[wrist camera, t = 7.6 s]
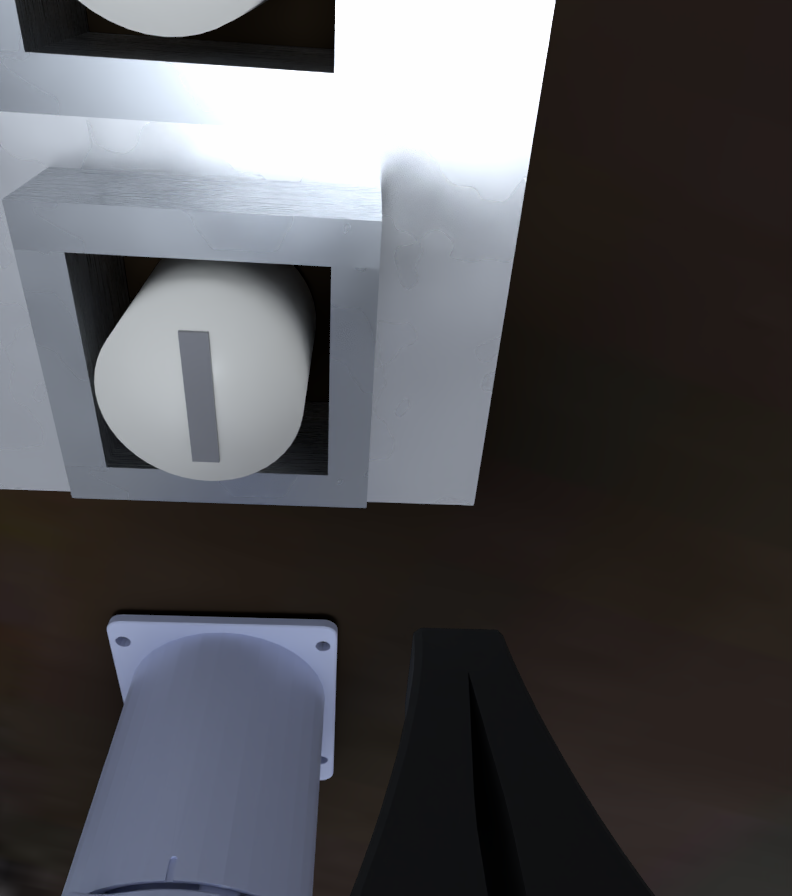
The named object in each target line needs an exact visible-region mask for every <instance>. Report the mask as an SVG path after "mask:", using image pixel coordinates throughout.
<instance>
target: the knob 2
mask: <svg viewBox="0 0 792 896" xmlns="http://www.w3.org/2000/svg"><path fill="white" fill-rule="evenodd" d="M315 331H316V310H315V305H314V300H313V298H312V295H311V292H310V289H309V288H308V286H307V284H306V282H305V280H304V278H303V277H302V275H301V274H300V273H299V271H298V270H297V269H296V268H295V267H294V265H290V264H272V263H253V262H234V261H216V260H197V259H178V258H162V259H161V260H160V262H159V263H158V264H157V265H156V267H155V268H154V270H153V271H152V273H151V274H150V276H149V277H148V279H147V280H146V282H145V283H144V285H143V286H142V288H141V289H140V291H139V292H138V294H137V295H136V297H135V298H134V300H133V301H132V303H131V304H130V306H129V307H128V309H127V310H126V312H125V313H124V315H123V316H122V318H121V319H120V321H119V322H118V324H117V325H116V326H115V328H114V329H113V331H112V332H111V334H110V335H109V337H108V338H107V340H106V342H105V343H104V345H103V347H102V348H101V351H100V353H99V356H98V359H97V362H96V367H95V377H94V385H95V394H96V398H97V402H98V405H99V408H100V410H101V413H102V415H103V417H104V419H105V421H106V422H107V424H108V426H109V427H110V429H111V430H112V432H113V433H114V434H115V435H116V437H117V438H118V439H119V440H120V441H121V442H122V443H123V444H124V445H125V446H126V447H127V448H128V449H129V450H130V451H132V452H133V453H134V454H135V455H136V456H138V457H139V458H141V459H142V460H144V461H145V462H147V463H149V464H151V465H153V466H154V467H156V468H158V469H161V470H163V471H165V472H168V473H170V474H174V475H177V476H180V477H184V478H189V479H195V480H204V481H223V480H231V479H236V478H241V477H245V476H248V475H251V474H253V473H256V472H258V471H260V470H262V469H264V468H266V467H268V466H269V465H270V464H272V463H273V462H275V461H276V460H277V459H278V458H279V457H281V456H282V455H283V454H284V453H285V452H286V450H287V449H288V448H289V447H290V445H291V444H292V442H293V441H294V439H295V437H296V436H297V433H298V431H299V428H300V426H301V422H302V417H303V412H304V405H305V398H306V392H307V385H308V378H309V371H310V365H311V358H312V351H313V345H314V338H315Z"/></svg>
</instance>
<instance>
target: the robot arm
mask: <svg viewBox="0 0 792 896" xmlns="http://www.w3.org/2000/svg"><path fill="white" fill-rule="evenodd" d="M107 634H108V638H109V642H110V646H111V651H112V655H113V659H114V664H115V668H116V672H117V677H118V681H119V685H120V689H121V694H122V698H123V702H124V706H123V709H122V712H121V715H120V718H119V721H118V724H117V727H116V730H115V733H114V736H113V740H112V743H111V746H110V749H109V752H108V755H107V758H106V761H105V764H104V767H103V770H102V773H101V776H100V779H99V782H98V785H97V788H96V791H95V795H94V798H93V801H92V804H91V807H90V810H89V813H88V816H87V819H86V822H85V825H84V828H83V831H82V834H81V837H80V840H79V843H78V847H77V850H76V853H75V856H74V859H73V862H72V865H71V868H70V871H69V874H68V877H67V880H66V883H65V886H64V889H63V892H62V895H61V896H312V892H313V876H314V860H315V845H316V829H317V813H318V798H319V782H320V780H326V779H329V778H330V777H331V776H332V775H333V768H334V736H335V702H336V668H337V635H338V629H337V626H336V625H335V624H334V623H333V622H331V621H329V620H322V619H283V618H244V617H204V616H165V615H126V614H122V615H116V616H113V617H112V618H111V619H110V621H109V623H108V626H107ZM125 637H126V638H125ZM322 641H324V642H325V643H323V642H322ZM350 896H655V895H654V894H653V892H652V891H651V890H650V888H649V887H648V886H647V885H646V883H645V882H644V880H643V879H642V878H641V876H640V875H639V873H638V872H637V871H636V869H635V868H634V866H633V865H632V864H631V862H630V861H629V859H628V858H627V857H626V855H625V854H624V852H623V851H622V850H621V848H620V847H619V845H618V844H617V842H616V841H615V839H614V838H613V836H612V835H611V833H610V832H609V830H608V829H607V827H606V826H605V824H604V823H603V821H602V820H601V818H600V817H599V815H598V814H597V812H596V810H595V809H594V807H593V806H592V804H591V802H590V801H589V799H588V798H587V796H586V795H585V793H584V791H583V790H582V788H581V787H580V785H579V783H578V782H577V780H576V778H575V777H574V775H573V773H572V772H571V770H570V768H569V767H568V765H567V763H566V761H565V760H564V758H563V756H562V754H561V752H560V751H559V749H558V747H557V745H556V744H555V742H554V740H553V738H552V736H551V735H550V733H549V731H548V729H547V728H546V726H545V724H544V722H543V720H542V718H541V716H540V714H539V713H538V711H537V709H536V707H535V705H534V703H533V701H532V699H531V697H530V695H529V693H528V691H527V689H526V687H525V685H524V683H523V680H522V678H521V676H520V674H519V672H518V670H517V668H516V665H515V663H514V661H513V659H512V656H511V654H510V652H509V649H508V647H507V645H506V642H505V640H504V637H503V635H502V634H501V633H500V632H499V631H498V630H481V629H443V628H420V629H419V630H417V631H416V632H414V634H413V642H412V651H411V659H410V668H409V676H408V685H407V693H406V702H405V723H404V727H403V731H402V736H401V740H400V745H399V749H398V753H397V757H396V761H395V764H394V767H393V771H392V774H391V778H390V781H389V784H388V788H387V791H386V794H385V798H384V801H383V805H382V808H381V811H380V814H379V817H378V820H377V823H376V826H375V829H374V832H373V835H372V838H371V841H370V844H369V847H368V849H367V852H366V855H365V858H364V860H363V863H362V866H361V868H360V871H359V874H358V877H357V879H356V882H355V884H354V887H353V889H352V892H351V894H350Z"/></svg>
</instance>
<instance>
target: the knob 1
mask: <svg viewBox="0 0 792 896" xmlns="http://www.w3.org/2000/svg"><path fill="white" fill-rule="evenodd" d="M78 1H80V2H81V3H82V4H84V5H85V6H86V7H88V8H89V9H90V10H92V11H93V12H95V13H97V14H98V15H100V16H102V17H104V18H105V19H107V20H109V21H111V22H113V23H115V24H118V25H120V26H122V27H125V28H127V29H130V30H133V31H137V32H140V33H144V34H148V35H155V36H162V37H184V36H191V35H197V34H202V33H205V32H208V31H211V30H214V29H217V28H219V27H221V26H223V25H225V24H227V23H229V22H231V21H233V20H235V19H236V18H238V17H240V16H242V15H244V14H245V13H247V12H249V11H251V10H253V9H254V8H256V7H258V6H260V5H262V4H264V3H265V2H267V1H268V0H78Z"/></svg>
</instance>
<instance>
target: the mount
mask: <svg viewBox="0 0 792 896" xmlns="http://www.w3.org/2000/svg"><path fill="white" fill-rule="evenodd" d="M554 6H555V0H336V5H335V49H322V48H308V47H294V46H279V45H265V44H251V43H237V42H223V41H209V40H195V39H181V38H167V37H153V36H138V35H124V34H110V33H96V32H89V30H88V23H87V16H86V10H85V5H84V4H82V3H81V2H80V1H78V0H0V489H18V490H46V491H71V495H72V498H88V499H117V500H146V501H175V502H204V503H234V504H263V505H292V506H321V507H350V508H366V507H367V502H390V503H418V504H447V505H474V501H475V495H476V488H477V482H478V476H479V470H480V464H481V457H482V451H483V445H484V439H485V433H486V427H487V420H488V414H489V408H490V402H491V396H492V389H493V383H494V377H495V371H496V365H497V358H498V352H499V346H500V340H501V334H502V327H503V321H504V315H505V309H506V303H507V297H508V290H509V284H510V278H511V272H512V266H513V259H514V253H515V247H516V241H517V235H518V228H519V222H520V216H521V210H522V204H523V197H524V191H525V185H526V179H527V173H528V167H529V160H530V154H531V148H532V142H533V136H534V129H535V123H536V117H537V111H538V105H539V98H540V92H541V86H542V80H543V74H544V68H545V61H546V55H547V49H548V43H549V37H550V30H551V24H552V18H553V12H554ZM123 256H141V257H160V258H178V259H197V260H216V261H234V262H253V263H272V264H290V265H309V266H328V267H331V317H330V380H329V403H328V402H305V405H304V412H303V417H302V422H301V426H300V428H299V431H298V433H297V436H296V437H295V439H294V441H293V442H292V444H291V445H290V447H289V448H288V449H287V450H286V452H285V453H284V454H283V455H282V456H281V457H279V458H278V459H277V460H276V461H275V462H273V463H272V464H270V465H269V466H268V467H266V468H264V469H262V470H260V471H258V472H256V473H253V474H251V475H248V476H245V477H241V478H236V479H231V480H223V481H204V480H195V479H189V478H184V477H180V476H177V475H174V474H170V473H168V472H165V471H163V470H161V469H158V468H156V467H154V466H153V465H151V464H149V463H147V462H145V461H144V460H142V459H141V458H139V457H138V456H136V455H135V454H134V453H133V452H132V451H130V450H129V449H128V448H127V447H126V446H125V445H124V444H123V443H122V442H121V441H120V440H119V439H118V438H117V437H116V435H115V434H114V433H113V432H112V430H111V429H110V427H109V426H108V424H107V422H106V421H105V419H104V417H103V415H102V413H101V410H100V408H99V405H98V402H97V398H96V394H95V385H94V377H95V367H96V362H97V359H98V356H99V353H100V351H101V348H102V347H103V345H104V343H105V342H106V340H107V338H108V337H109V335H110V334H111V332H112V331H113V329H114V328H115V326H116V325H117V324H118V322H119V321H120V319H121V318H122V316H123V315H124V313H125V312H126V310H127V309H128V307H129V306H130V302H129V295H128V289H127V282H126V275H125V269H124V262H123Z"/></svg>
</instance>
